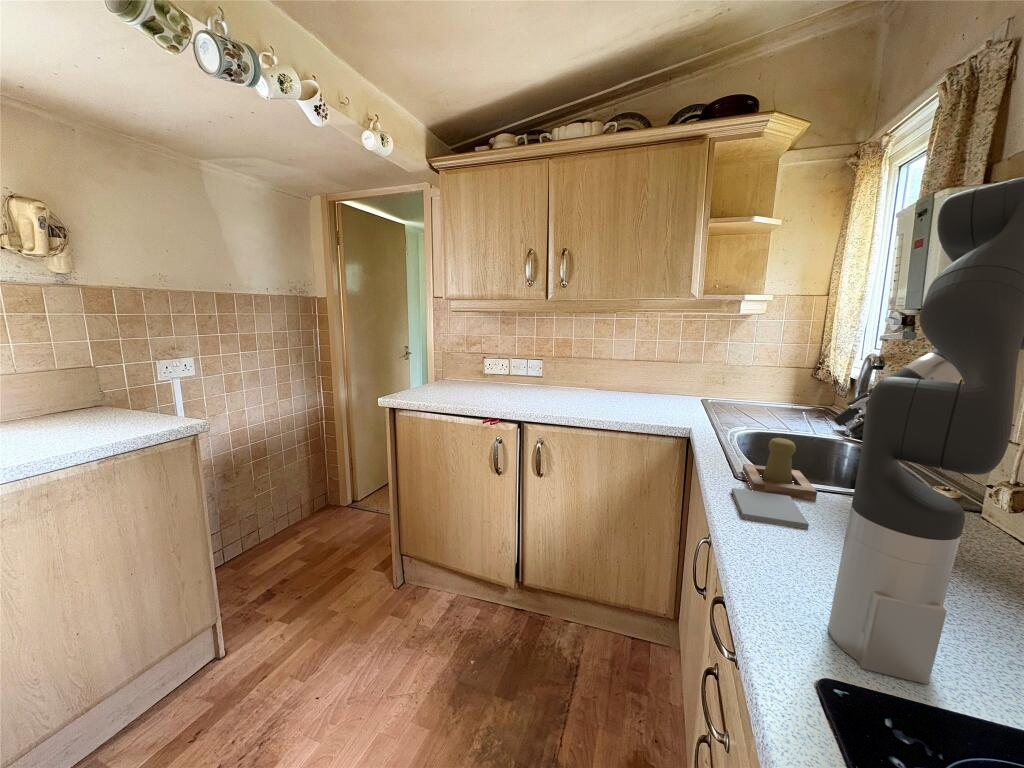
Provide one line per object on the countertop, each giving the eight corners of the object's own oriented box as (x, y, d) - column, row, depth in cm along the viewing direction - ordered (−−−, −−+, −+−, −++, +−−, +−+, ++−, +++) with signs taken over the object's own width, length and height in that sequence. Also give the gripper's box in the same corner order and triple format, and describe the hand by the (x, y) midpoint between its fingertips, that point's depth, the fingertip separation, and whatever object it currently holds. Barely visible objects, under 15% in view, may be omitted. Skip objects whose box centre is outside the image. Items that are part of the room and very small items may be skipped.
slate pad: (808, 528, 77) (808, 523, 77) (742, 518, 81) (742, 513, 80) (788, 500, 88) (789, 495, 88) (731, 492, 92) (732, 487, 92)
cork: (763, 477, 100) (769, 433, 98) (793, 484, 96) (800, 439, 94) (758, 485, 95) (765, 440, 93) (790, 493, 92) (797, 446, 89)
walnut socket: (815, 500, 88) (817, 491, 88) (752, 491, 92) (753, 483, 92) (797, 478, 100) (799, 470, 99) (742, 471, 103) (743, 463, 103)
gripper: (889, 361, 90) (819, 407, 96) (929, 371, 77) (844, 424, 83) (914, 387, 90) (842, 431, 96) (959, 402, 77) (872, 452, 82)
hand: (843, 428), depth 89 cm, fingers open, 8 cm apart
